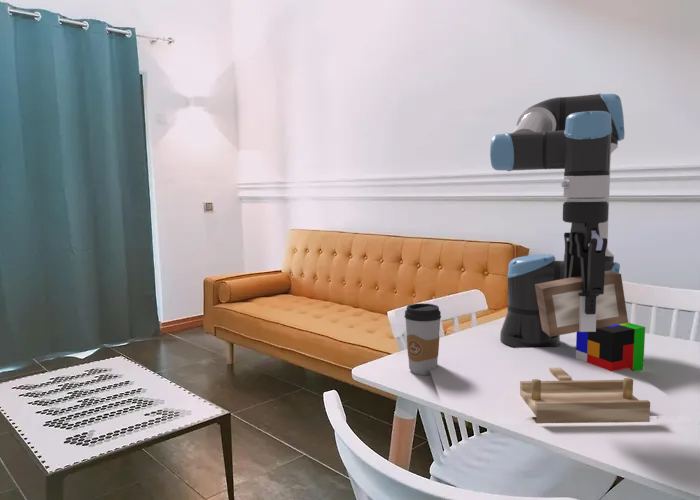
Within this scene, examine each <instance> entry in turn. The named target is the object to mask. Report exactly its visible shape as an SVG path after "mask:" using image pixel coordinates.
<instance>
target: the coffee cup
mask: <svg viewBox="0 0 700 500" xmlns="http://www.w3.org/2000/svg"><path fill="white" fill-rule="evenodd" d="M404 318H405V327H406V329H405V330H406V331H405V332H406V347H407V358H408V369H409V370H410V372H411V373H412V374H415V375H420V376H427V375H432V373H431V370H434V369H436V368H438V362H439V359H438V358H439V349H440V327H441V318H442V315H441V310H440V307H439V306H438V305H436V304H432V303H425V302H422V303H411V304H409V305H407V306H406V310H404Z"/></svg>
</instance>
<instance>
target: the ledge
mask: <svg viewBox="0 0 700 500" xmlns="http://www.w3.org/2000/svg"><path fill="white" fill-rule="evenodd" d="M519 385H520V386H519V396H520V398H522V400H523V401H524V403H525V404H526V405H527V406H528V408H529V409H530V410H531V412H532V413H533V414H534V416H532V417H531V418H532V419H533V421H534V422H535V424H577V423H578V424H579V423H580V424H582V423H583V424H584V423H585V424H586V423H589V424H590V423H591V424H592V423H593V424H594V423H650V417H651V401H650V400H648V399H642V400H640V399H638V398H637V397H636V396H635V395H633V392H634V379H633V378H630V377H624V378H623V379H601V380H600V379H593V380H592V379H590V380H589V379H588V380H587V379H586V380H580V379H579V380H571V381H559V380H540V379H538V378H536V379H535V378H533V379H531V380H524V381H523V380H522V381H519Z"/></svg>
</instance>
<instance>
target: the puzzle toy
mask: <svg viewBox="0 0 700 500" xmlns="http://www.w3.org/2000/svg"><path fill="white" fill-rule="evenodd" d="M575 336H576V342H575V359H577V360H579V361H582V362H584V363H588V364H590V365H594V366H595V367H599V368H601V369H604V370H607V371H609V372H614V371H619V370H624V369H628V370H630V371H631V372H632V373H635V372H639V371H643V370H644V362H645V361H644V360H645V359H644V358H645V343H646V341H645V339H646V327H645V326H642V325H638V324H635V323H631V322H628V323H624V324H618V325H613V326H607V327H602V328H596V332H576V335H575Z"/></svg>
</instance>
